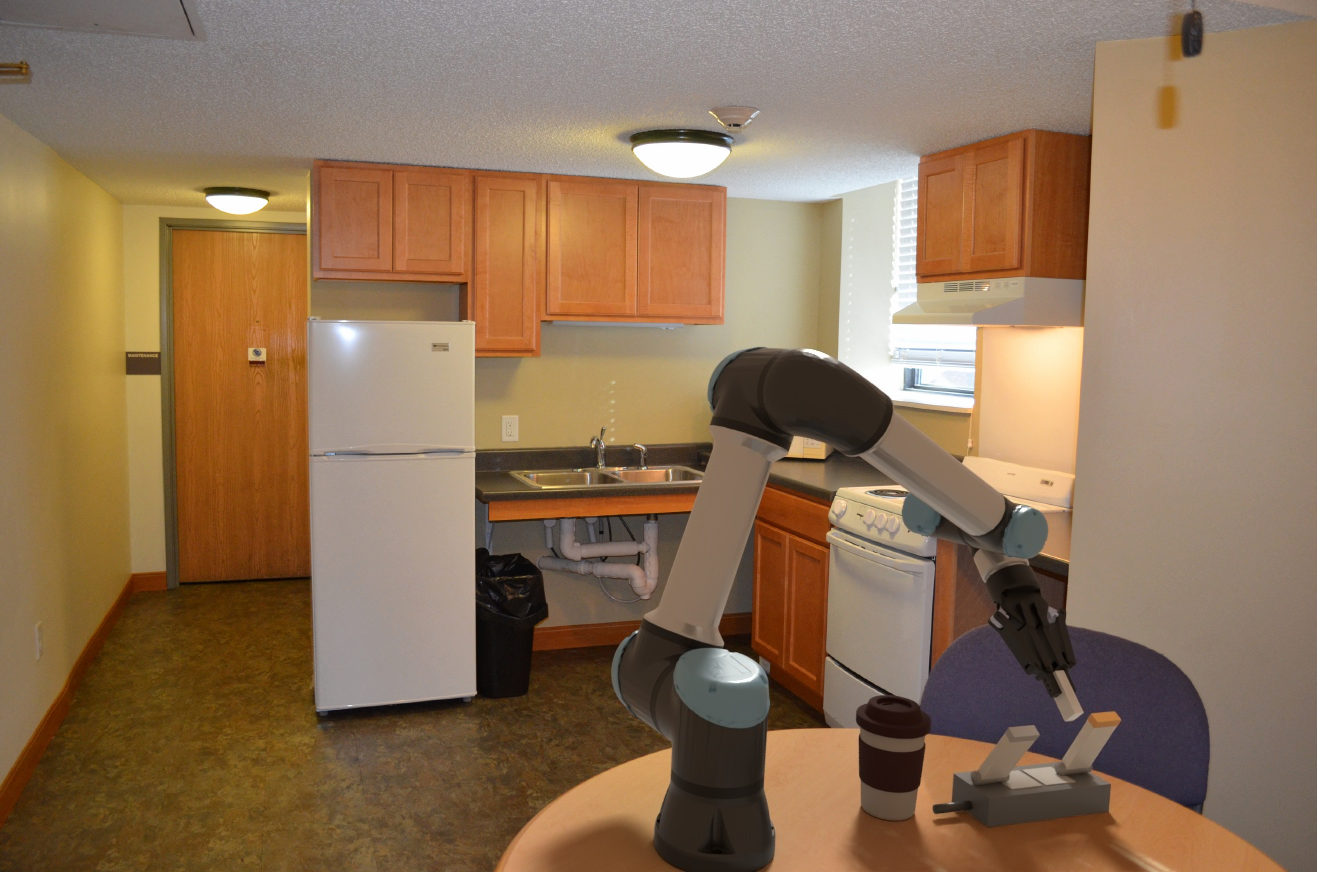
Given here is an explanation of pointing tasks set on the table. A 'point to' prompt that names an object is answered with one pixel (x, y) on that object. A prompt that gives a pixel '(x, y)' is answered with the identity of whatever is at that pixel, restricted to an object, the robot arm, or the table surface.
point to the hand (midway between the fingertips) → (1074, 716)
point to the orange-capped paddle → (1088, 743)
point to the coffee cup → (891, 755)
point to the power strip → (1028, 796)
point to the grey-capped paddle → (1005, 755)
